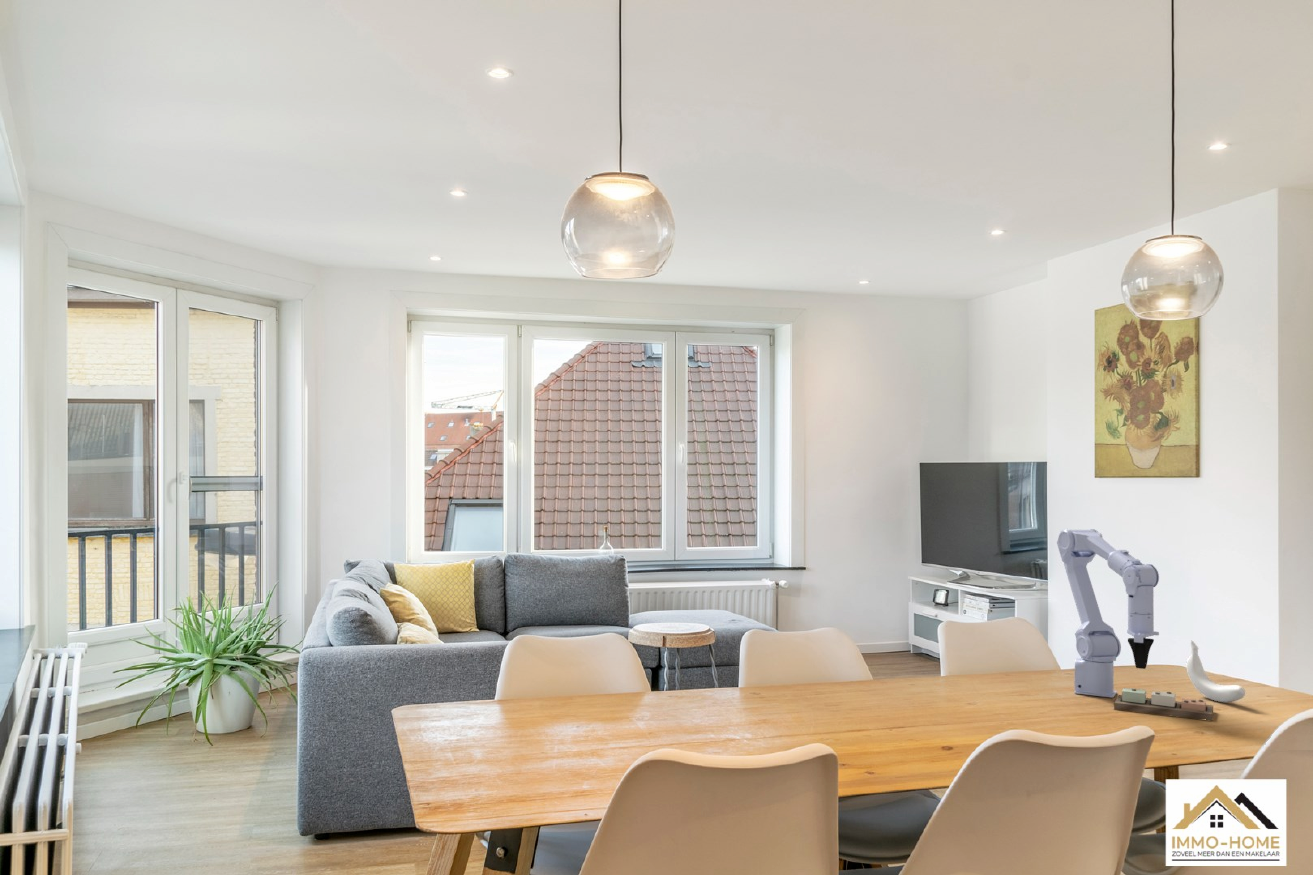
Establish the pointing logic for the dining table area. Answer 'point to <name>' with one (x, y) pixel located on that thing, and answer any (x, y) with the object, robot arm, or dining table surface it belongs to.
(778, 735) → the dining table surface
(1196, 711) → the dice tray
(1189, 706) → the tile three
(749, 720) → the dining table surface
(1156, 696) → the tile two
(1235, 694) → the banana
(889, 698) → the dining table surface
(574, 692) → the dining table surface
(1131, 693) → the tile one
